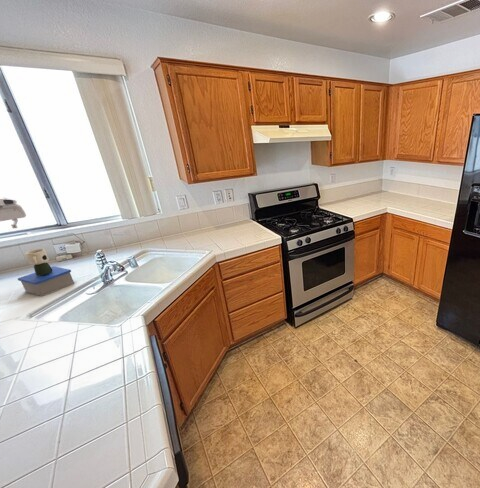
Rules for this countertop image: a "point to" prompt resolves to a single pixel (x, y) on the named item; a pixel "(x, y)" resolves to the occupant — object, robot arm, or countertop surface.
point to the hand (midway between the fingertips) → (1, 230)
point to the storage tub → (47, 281)
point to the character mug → (39, 261)
